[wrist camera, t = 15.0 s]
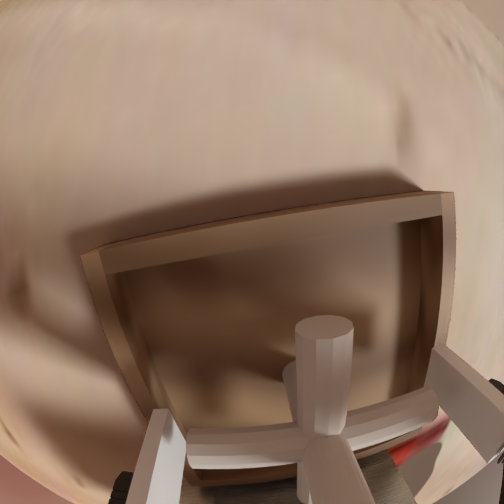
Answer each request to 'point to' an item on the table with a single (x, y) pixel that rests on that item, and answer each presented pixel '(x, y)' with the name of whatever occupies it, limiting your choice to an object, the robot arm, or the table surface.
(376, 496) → the box
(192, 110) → the table surface
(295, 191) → the table surface
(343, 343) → the pipe connector
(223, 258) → the tray
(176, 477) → the robot arm
